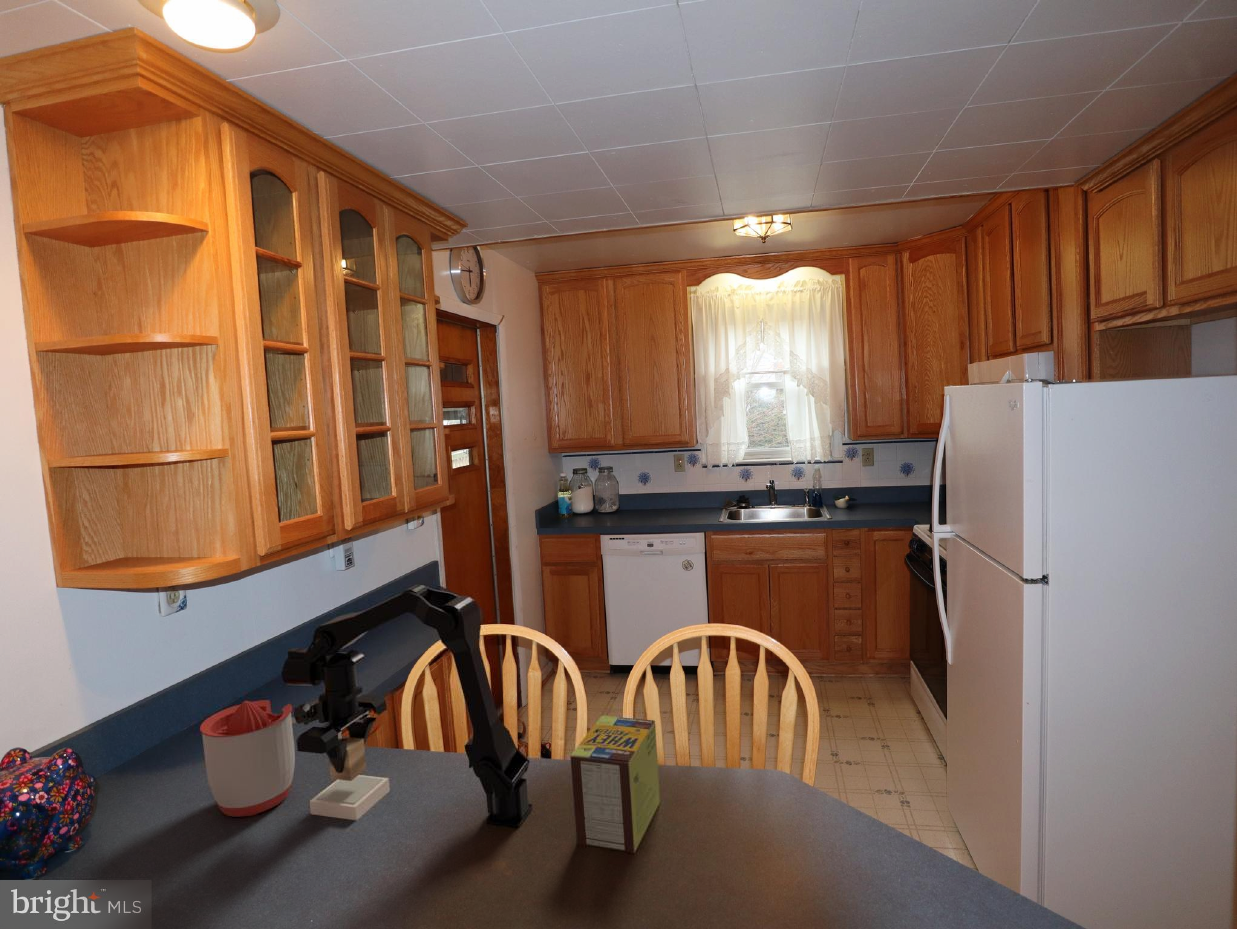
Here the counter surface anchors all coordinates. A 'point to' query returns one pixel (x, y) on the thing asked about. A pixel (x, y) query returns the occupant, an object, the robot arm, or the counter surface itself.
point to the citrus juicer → (249, 757)
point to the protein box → (615, 783)
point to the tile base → (350, 797)
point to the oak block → (351, 760)
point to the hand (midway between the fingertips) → (348, 765)
